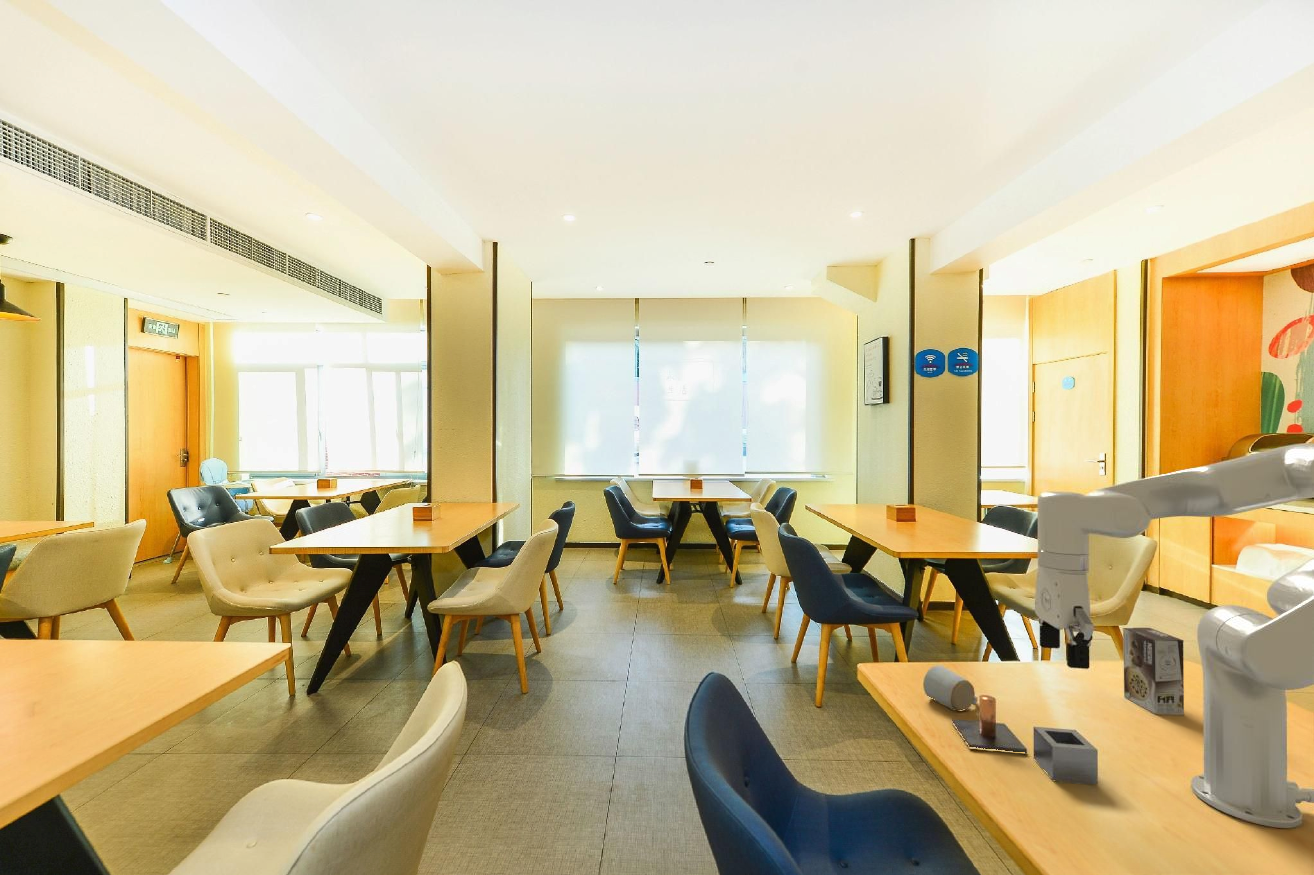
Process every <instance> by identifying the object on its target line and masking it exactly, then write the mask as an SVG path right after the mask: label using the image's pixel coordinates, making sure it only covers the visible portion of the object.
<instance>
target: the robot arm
mask: <svg viewBox="0 0 1314 875" xmlns="http://www.w3.org/2000/svg"><path fill="white" fill-rule="evenodd" d="M1312 498H1314V442H1306V443H1304V442H1303V443H1294V444H1290V445H1285V446H1280V447H1277V448H1272V449H1269V450H1265V451H1264V450H1263V451H1260V452H1255V453H1252V454H1249V455H1244V456H1240V457H1237V458H1232V459H1228V460H1224V461H1219V462H1215V463H1210V464H1208V465H1203V466H1198V467H1193V468H1187V469H1182V470H1178V471H1174V472H1170V473H1166V474H1160V475H1154V476H1150V477H1145V478H1139V479H1135V480H1131V481H1127V482H1123V483H1118V484H1115V485H1109V486H1107V487H1106V486H1105V487H1103V488H1097V489H1095V490H1092V491H1091V492H1088V493H1087V494H1086V495H1084V494H1082V493H1079V492H1071V491H1045V492H1042V493H1040V494H1039V496H1038V497H1037V568H1038V569H1037V573H1036V582H1035V594H1034V595H1035V598H1034V613H1035V615H1036V616H1037V617H1038V624H1039V646H1040V647H1041V648H1043V649H1044V648H1045V649H1046V648H1047V649H1060V647H1061V631H1063V630H1065V633H1066V636H1067V639H1068V643H1066V665H1067V667H1068V668H1070V669H1083V670H1088V669H1090V647H1091V645H1092V642H1091V641H1092V640H1093V638H1094V637H1093V633H1094V630H1095V625H1094V623H1093V622H1092V620H1091V601H1090V600H1091V599H1090V592H1089V590H1090V588H1089V582H1088V581H1089V580H1088V576H1087V574H1089V573H1090V534H1091V535H1098V536H1099V535H1100V536H1104V537H1110V538H1117V539H1131V538H1134V537H1138V536H1140V535H1142V534H1143V533H1144V532H1146V530H1148V528H1149V526H1150V524H1151V522H1152V520H1157V519H1164V518H1173V517H1176V518H1177V517H1196V518H1197V517H1198V518H1201V517H1202V518H1213V517H1225V516H1226V517H1227V516H1232V515H1238V514H1242V513H1246V512H1250V511H1254V510H1259V509H1264V508H1267V507H1272V506H1278V505H1282V504H1286V503H1293V502H1297V501H1302V500H1307V499H1312ZM1266 600H1267V603H1268V606H1269V607H1270V608H1271V610H1273V612H1274V613H1276V615H1277V616H1276V617H1275V618H1272V617H1270V616H1268V615H1267V614H1264V613H1262V612H1260V611H1258V610H1254V609H1252V608H1248V607H1247V606H1246V607H1245V606H1240V605H1233V604H1229V605H1228V604H1227V605H1219V606H1216V607H1213V608H1211V609H1209V610H1208V611H1206V612H1204V614H1203V615H1202V617H1201V618H1200V620H1199V621H1198V625H1197V630H1196V631H1197V634H1196V635H1197V637H1196V638H1197V644H1198V649H1199V656H1200V662H1201V667H1202V678H1203V679H1202V682H1203V683H1202V684H1203V685H1202V686H1203V687H1202V688H1203V689H1202V690H1203V693H1202V694H1203V701H1202V702H1203V705H1202V706H1203V707H1202V708H1203V709H1202V710H1203V714H1202V715H1203V774H1199V775H1195V776H1194V777H1192V778H1191V779H1190V787H1191V790H1192V791H1193V793H1194V794H1195V795H1196V796H1197V797H1198V798H1199V799H1201V800H1202V801H1203V802H1205V803H1206V804H1207V805H1209V806H1211V807H1213V808H1215V809H1216V810H1218V811H1221V812H1223V813H1225V814H1227V815H1230V816H1233V817H1235V818H1237V819H1240V820H1242V821H1247V822H1248V823H1249V822H1250V823H1253V824H1258V825H1261V826H1266V827H1271V828H1279V829H1280V828H1281V829H1289V828H1290V829H1292V828H1297V827H1299V826H1301V825H1302V823H1303V814H1302V812H1301V810H1300V808H1299V807H1297V806H1296V804H1301V803H1302V802H1306V803H1311V804H1314V788H1305V787H1304V788H1299V785H1298V783H1297V782H1296V781H1291V780H1288V734H1287V733H1288V732H1287V731H1288V730H1287V729H1288V727H1287V724H1288V719H1287V718H1288V706H1287V704H1288V703H1287V694H1286V691H1294V690H1301V689H1304V688H1308V687H1311V686H1314V557H1313V558H1312V559H1310V560H1308V561H1306V562H1305V563H1303V564H1301V565H1300V566H1298V567H1296V568H1294V569H1292V570H1291V571H1289V572H1287V573H1285V574H1284V575H1282V576H1280V577H1279V578H1277V579H1276V580H1274V581H1273V582H1272V583H1271V584H1270V586H1269V587H1268V589H1267V591H1266ZM1074 632H1075V633H1076V635H1075V634H1074Z"/></svg>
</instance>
